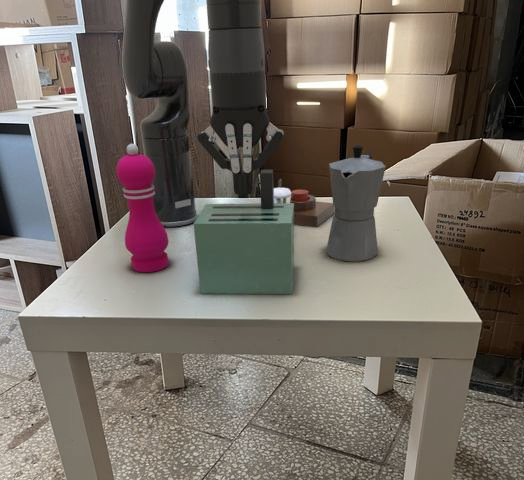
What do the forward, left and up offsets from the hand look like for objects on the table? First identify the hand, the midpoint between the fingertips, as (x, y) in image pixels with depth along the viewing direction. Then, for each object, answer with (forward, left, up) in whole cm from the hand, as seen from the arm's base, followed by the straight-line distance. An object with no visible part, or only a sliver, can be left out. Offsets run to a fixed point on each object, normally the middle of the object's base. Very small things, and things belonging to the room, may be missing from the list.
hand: (244, 196), depth 79 cm
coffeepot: (+13, +17, -13) cm, 24 cm away
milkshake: (-3, +20, -13) cm, 24 cm away
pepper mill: (-17, -3, -13) cm, 22 cm away
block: (-4, +32, -13) cm, 34 cm away
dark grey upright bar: (+3, +1, -1) cm, 4 cm away
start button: (-4, +32, -9) cm, 33 cm away
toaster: (+2, -2, -13) cm, 13 cm away
